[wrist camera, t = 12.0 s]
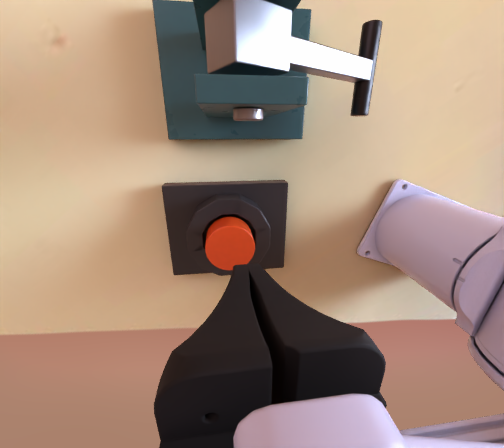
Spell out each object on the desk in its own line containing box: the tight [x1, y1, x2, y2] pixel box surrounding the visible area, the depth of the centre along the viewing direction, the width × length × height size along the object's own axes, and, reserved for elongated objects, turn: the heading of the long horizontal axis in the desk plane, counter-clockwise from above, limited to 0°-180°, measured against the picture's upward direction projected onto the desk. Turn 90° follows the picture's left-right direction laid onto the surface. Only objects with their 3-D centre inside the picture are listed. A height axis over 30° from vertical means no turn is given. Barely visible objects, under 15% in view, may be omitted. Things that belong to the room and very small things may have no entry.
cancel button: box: [205, 217, 255, 270], centre depth 18 cm, size 4×4×2 cm
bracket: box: [152, 0, 311, 140], centre depth 13 cm, size 10×8×10 cm
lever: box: [204, 0, 382, 116], centre depth 12 cm, size 11×5×2 cm, turn 91°
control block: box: [162, 180, 288, 276], centre depth 20 cm, size 10×8×3 cm
